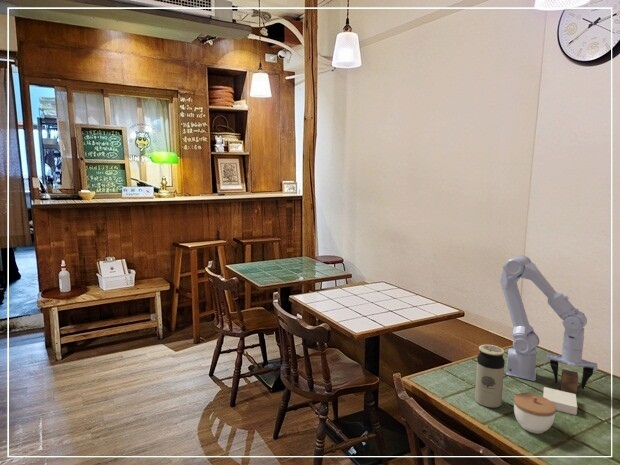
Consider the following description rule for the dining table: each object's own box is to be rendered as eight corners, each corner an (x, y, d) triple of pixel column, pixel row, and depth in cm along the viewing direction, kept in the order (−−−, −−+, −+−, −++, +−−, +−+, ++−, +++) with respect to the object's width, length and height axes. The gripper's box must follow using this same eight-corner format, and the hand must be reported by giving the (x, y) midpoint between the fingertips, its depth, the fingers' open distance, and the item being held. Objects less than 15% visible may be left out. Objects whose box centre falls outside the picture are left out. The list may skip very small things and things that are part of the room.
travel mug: (480, 392, 137) (484, 342, 135) (505, 401, 132) (509, 349, 129) (470, 401, 132) (473, 348, 129) (495, 411, 126) (499, 356, 124)
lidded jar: (553, 443, 111) (556, 411, 110) (510, 430, 117) (512, 400, 115) (554, 423, 120) (557, 394, 119) (513, 412, 126) (516, 384, 124)
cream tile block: (542, 407, 129) (543, 399, 129) (543, 395, 137) (543, 386, 136) (576, 416, 125) (577, 407, 124) (574, 402, 132) (575, 394, 132)
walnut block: (560, 390, 139) (562, 374, 138) (560, 385, 143) (562, 369, 142) (576, 394, 137) (578, 377, 136) (575, 388, 141) (577, 372, 140)
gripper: (548, 346, 138) (544, 384, 140) (599, 356, 131) (595, 395, 132) (548, 339, 144) (544, 375, 146) (597, 348, 137) (593, 386, 138)
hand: (569, 384), depth 139 cm, fingers open, 7 cm apart
